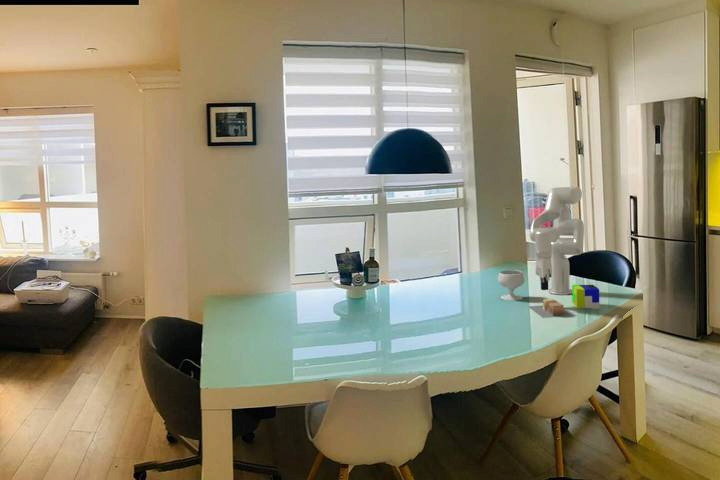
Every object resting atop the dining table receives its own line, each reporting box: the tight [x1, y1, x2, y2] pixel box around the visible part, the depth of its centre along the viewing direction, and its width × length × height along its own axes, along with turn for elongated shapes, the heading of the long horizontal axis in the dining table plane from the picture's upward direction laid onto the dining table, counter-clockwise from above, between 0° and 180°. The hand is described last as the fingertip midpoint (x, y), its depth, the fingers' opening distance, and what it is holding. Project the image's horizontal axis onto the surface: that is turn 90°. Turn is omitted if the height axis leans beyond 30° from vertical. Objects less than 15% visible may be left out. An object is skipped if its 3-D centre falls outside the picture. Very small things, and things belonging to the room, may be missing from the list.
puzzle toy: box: [571, 284, 600, 310], centre depth 226 cm, size 10×10×10 cm
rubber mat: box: [527, 304, 577, 319], centre depth 221 cm, size 20×16×1 cm
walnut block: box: [542, 298, 565, 316], centre depth 218 cm, size 5×5×12 cm
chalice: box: [497, 269, 525, 301], centre depth 249 cm, size 14×14×15 cm
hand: (544, 289), depth 228 cm, fingers closed
